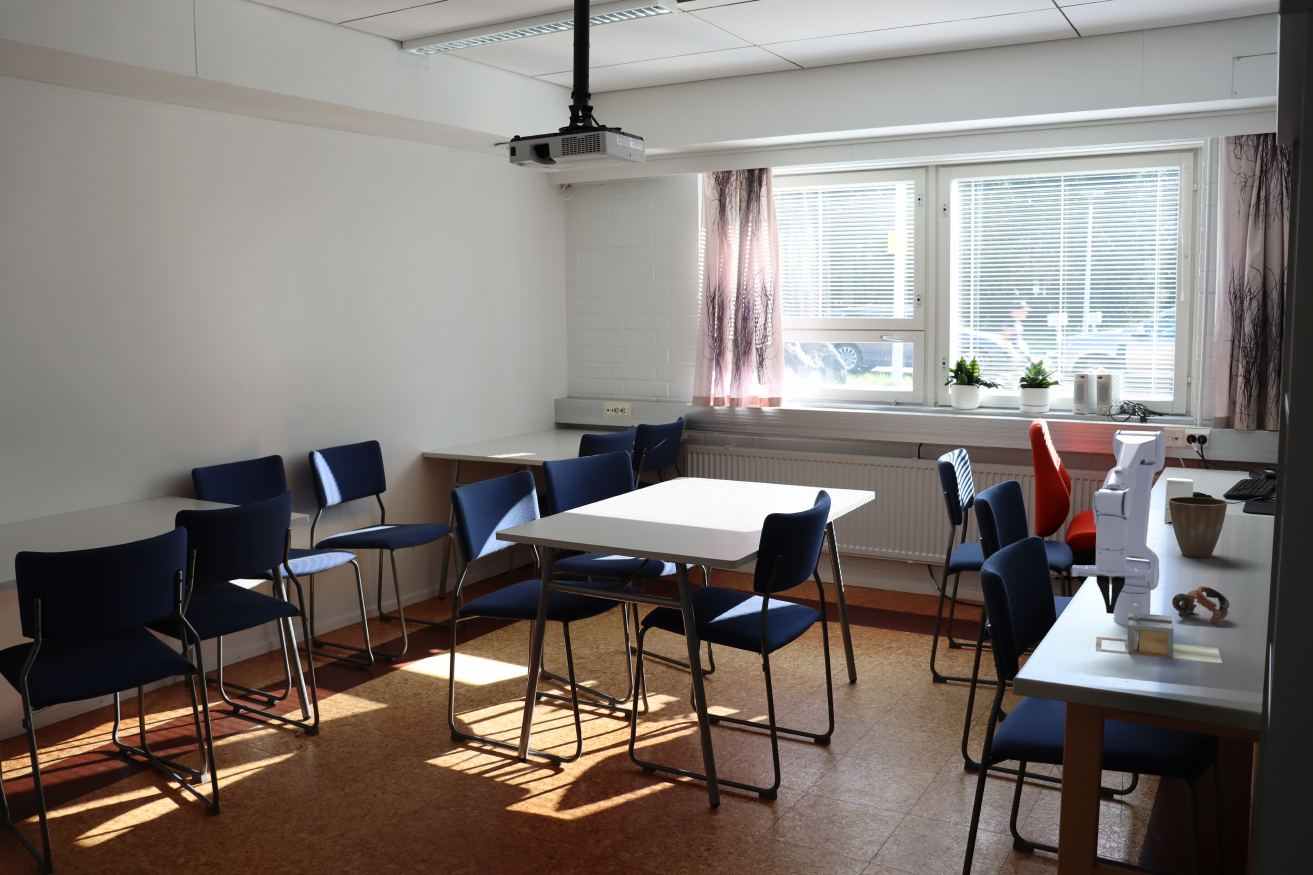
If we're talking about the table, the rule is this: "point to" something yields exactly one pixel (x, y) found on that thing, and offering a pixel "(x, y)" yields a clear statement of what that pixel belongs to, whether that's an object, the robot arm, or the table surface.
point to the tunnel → (1151, 629)
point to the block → (1153, 641)
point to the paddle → (1135, 618)
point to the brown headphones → (1201, 599)
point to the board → (1178, 651)
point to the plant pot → (1197, 524)
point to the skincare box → (1176, 492)
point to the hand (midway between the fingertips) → (1110, 612)
